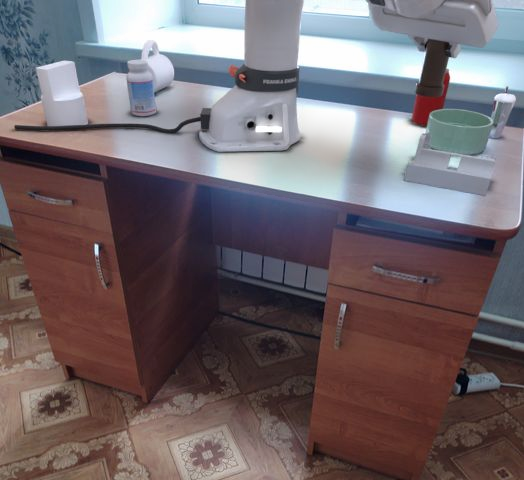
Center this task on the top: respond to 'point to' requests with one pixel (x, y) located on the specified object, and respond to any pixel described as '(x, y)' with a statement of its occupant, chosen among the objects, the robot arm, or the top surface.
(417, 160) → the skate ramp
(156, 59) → the mug
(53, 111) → the white stepped block
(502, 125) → the milkshake
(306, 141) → the top surface
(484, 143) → the bowl
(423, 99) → the beverage can
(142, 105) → the pill bottle
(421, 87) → the pestle
